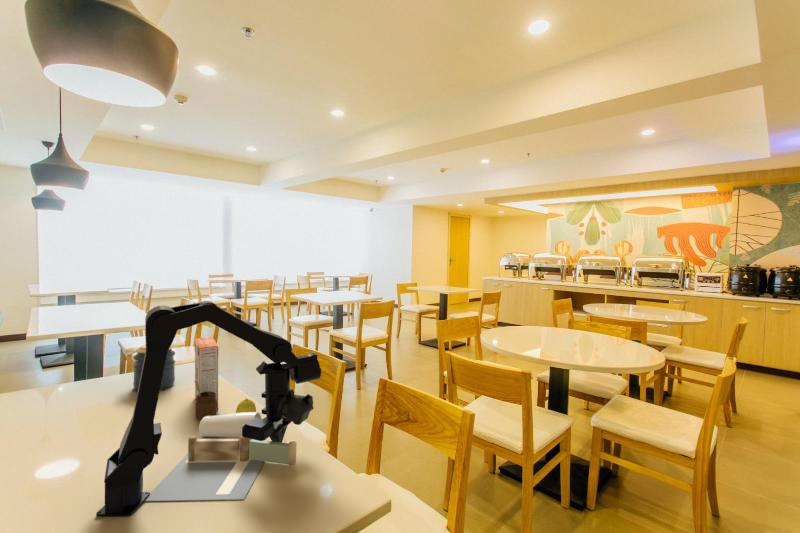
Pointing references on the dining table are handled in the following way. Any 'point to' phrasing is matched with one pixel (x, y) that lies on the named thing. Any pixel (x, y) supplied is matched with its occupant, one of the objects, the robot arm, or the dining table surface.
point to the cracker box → (206, 365)
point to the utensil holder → (205, 403)
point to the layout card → (207, 481)
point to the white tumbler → (226, 424)
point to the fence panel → (273, 452)
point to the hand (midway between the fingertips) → (278, 448)
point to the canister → (168, 370)
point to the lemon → (246, 406)
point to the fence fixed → (218, 449)
